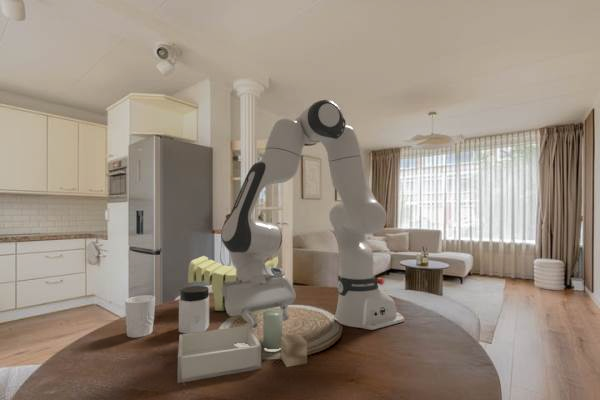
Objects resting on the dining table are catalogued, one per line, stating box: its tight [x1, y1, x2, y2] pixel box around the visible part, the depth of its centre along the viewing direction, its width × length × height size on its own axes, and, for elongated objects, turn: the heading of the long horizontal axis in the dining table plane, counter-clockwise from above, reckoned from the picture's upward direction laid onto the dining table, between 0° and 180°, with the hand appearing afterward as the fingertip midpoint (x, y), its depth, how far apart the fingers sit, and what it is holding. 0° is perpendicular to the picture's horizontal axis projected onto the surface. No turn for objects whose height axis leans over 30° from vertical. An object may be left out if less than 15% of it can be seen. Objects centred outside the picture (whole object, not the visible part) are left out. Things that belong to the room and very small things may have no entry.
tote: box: [177, 325, 262, 384], centre depth 74 cm, size 18×14×5 cm
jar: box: [178, 285, 210, 334], centre depth 95 cm, size 9×8×12 cm
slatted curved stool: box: [187, 255, 279, 312], centre depth 117 cm, size 30×16×18 cm, turn 88°
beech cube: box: [280, 333, 308, 368], centre depth 75 cm, size 5×5×5 cm
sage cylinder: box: [262, 309, 284, 349], centre depth 81 cm, size 5×5×9 cm
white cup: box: [124, 294, 156, 339], centre depth 91 cm, size 8×8×10 cm
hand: (270, 323), depth 82 cm, fingers open, 8 cm apart
